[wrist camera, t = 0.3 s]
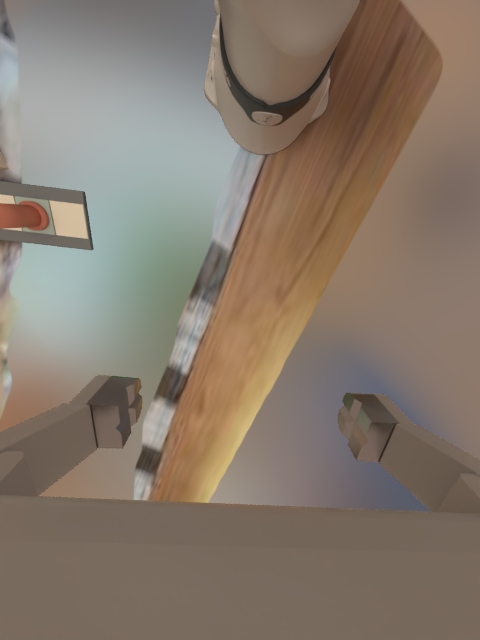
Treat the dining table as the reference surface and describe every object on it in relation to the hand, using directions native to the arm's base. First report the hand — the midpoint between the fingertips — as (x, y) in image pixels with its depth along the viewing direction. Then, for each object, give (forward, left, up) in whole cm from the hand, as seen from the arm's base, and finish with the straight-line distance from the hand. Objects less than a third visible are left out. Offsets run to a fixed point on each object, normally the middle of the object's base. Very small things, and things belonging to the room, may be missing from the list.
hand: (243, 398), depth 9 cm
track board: (-3, -44, -39) cm, 59 cm away
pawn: (-3, -38, -38) cm, 54 cm away
